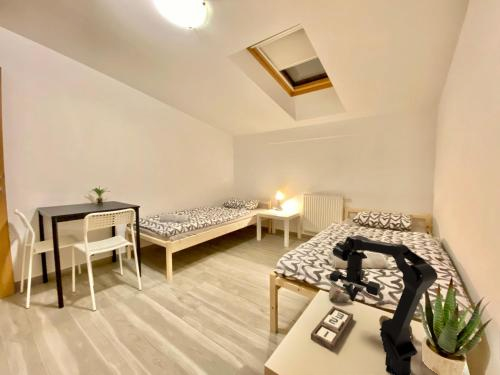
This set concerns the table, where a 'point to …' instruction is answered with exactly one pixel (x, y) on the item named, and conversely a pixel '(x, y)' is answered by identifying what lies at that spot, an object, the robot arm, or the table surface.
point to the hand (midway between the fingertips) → (352, 301)
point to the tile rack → (339, 333)
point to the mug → (337, 295)
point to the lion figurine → (390, 318)
